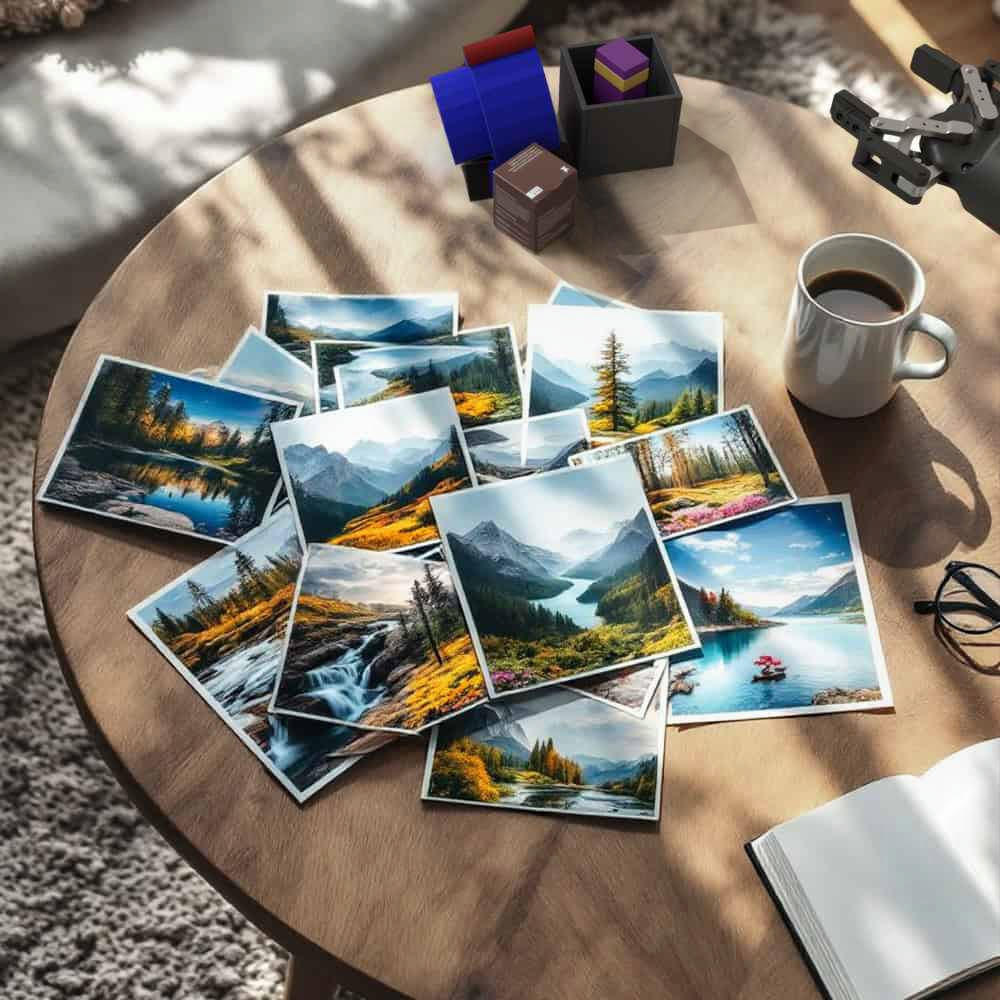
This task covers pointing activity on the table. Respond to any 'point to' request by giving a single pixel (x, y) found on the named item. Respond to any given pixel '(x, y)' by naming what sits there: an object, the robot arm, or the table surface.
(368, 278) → the table surface
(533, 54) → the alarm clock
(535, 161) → the box
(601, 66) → the perfume bottle
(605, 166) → the bin
